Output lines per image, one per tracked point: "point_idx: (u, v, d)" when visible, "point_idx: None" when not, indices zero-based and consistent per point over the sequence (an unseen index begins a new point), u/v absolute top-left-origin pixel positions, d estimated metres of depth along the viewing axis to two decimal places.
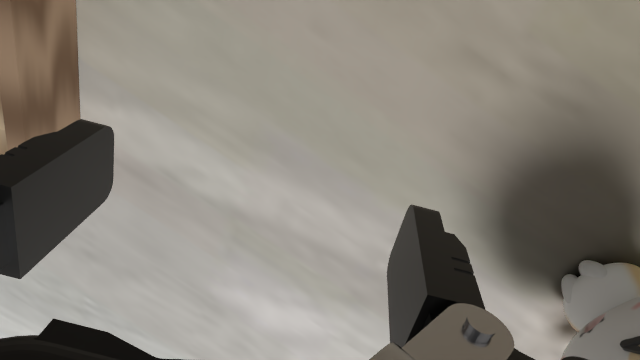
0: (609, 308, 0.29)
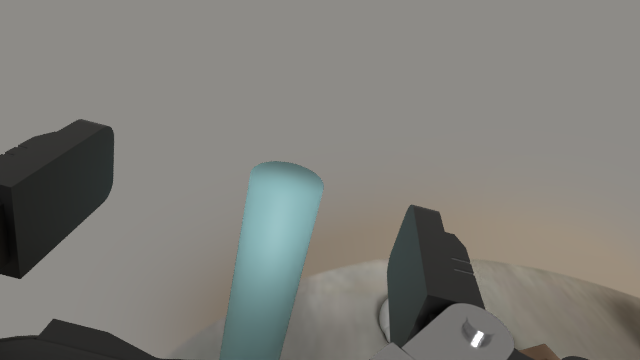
0: None
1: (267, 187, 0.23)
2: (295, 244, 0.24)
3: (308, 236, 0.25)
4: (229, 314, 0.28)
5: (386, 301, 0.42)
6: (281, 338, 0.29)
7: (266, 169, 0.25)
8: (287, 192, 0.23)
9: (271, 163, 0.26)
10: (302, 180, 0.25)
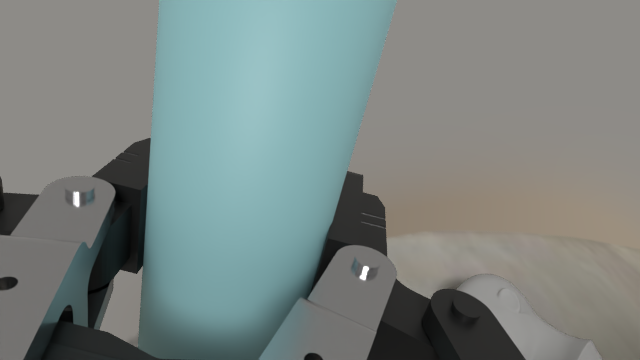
0: None
1: None
2: (340, 37, 0.07)
3: (381, 30, 0.07)
4: (142, 300, 0.10)
5: (461, 289, 0.25)
6: None
7: None
8: None
9: None
10: None
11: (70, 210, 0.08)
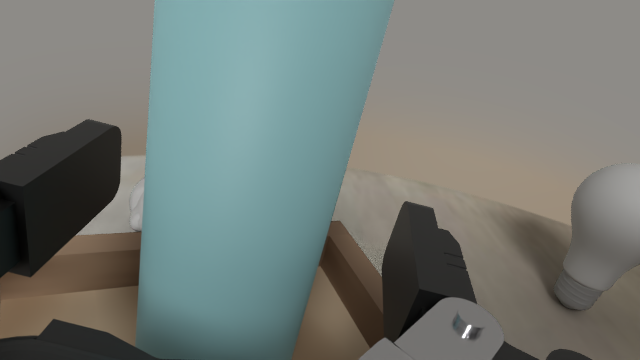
0: None
1: None
2: (321, 102, 0.07)
3: (362, 88, 0.08)
4: (136, 334, 0.11)
5: None
6: None
7: None
8: None
9: None
10: None
11: None
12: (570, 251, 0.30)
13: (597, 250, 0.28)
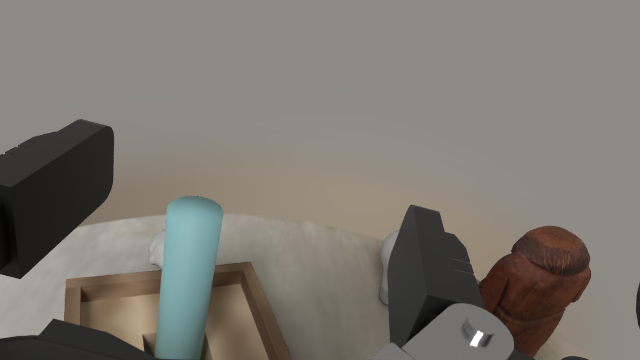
0: None
1: (178, 216, 0.32)
2: (200, 258, 0.33)
3: (212, 252, 0.34)
4: (158, 310, 0.37)
5: (156, 234, 0.56)
6: (199, 329, 0.37)
7: (181, 202, 0.34)
8: (192, 221, 0.32)
9: (187, 197, 0.35)
10: (207, 211, 0.34)
11: None
12: (383, 274, 0.56)
13: None
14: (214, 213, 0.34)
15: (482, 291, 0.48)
